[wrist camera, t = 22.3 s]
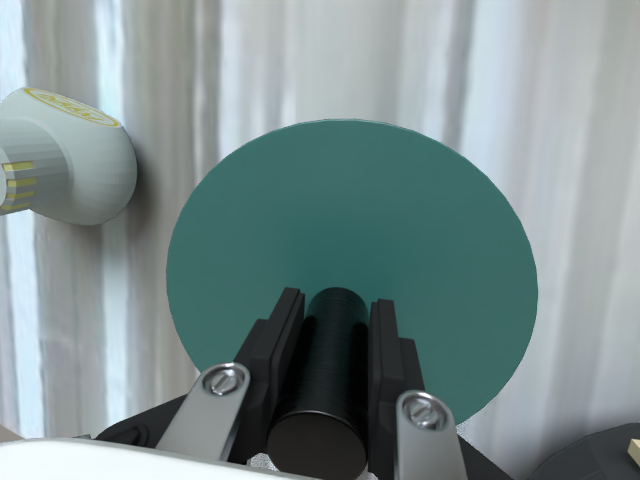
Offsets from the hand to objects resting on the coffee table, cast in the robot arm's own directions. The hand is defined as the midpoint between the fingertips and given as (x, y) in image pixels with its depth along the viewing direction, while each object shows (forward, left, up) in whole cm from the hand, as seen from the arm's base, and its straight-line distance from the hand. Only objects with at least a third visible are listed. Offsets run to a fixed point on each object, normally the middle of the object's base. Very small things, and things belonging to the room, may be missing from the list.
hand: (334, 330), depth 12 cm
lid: (0, 0, -2) cm, 2 cm away
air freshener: (-3, -23, -17) cm, 28 cm away
